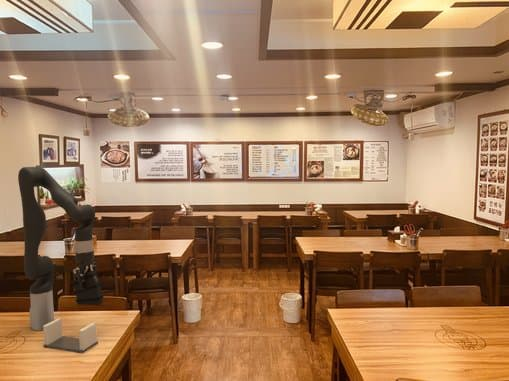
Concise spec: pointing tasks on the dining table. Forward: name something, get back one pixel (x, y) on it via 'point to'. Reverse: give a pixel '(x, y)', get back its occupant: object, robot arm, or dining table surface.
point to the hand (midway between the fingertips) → (86, 287)
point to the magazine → (88, 290)
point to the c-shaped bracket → (55, 332)
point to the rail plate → (68, 344)
